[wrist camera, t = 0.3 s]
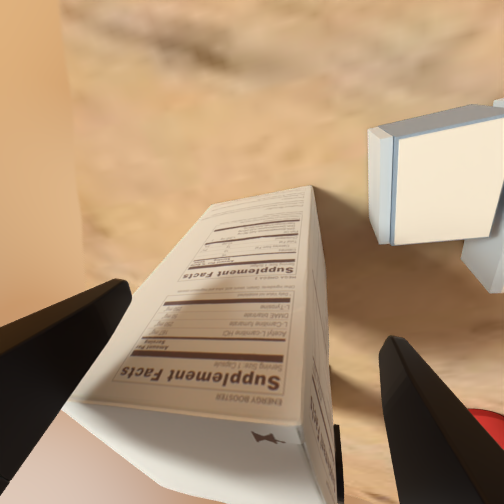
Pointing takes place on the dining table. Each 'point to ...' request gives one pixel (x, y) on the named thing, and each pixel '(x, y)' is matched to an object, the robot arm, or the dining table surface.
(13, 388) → the robot arm
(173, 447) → the supplement box
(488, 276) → the flap
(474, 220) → the carton
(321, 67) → the dining table surface
